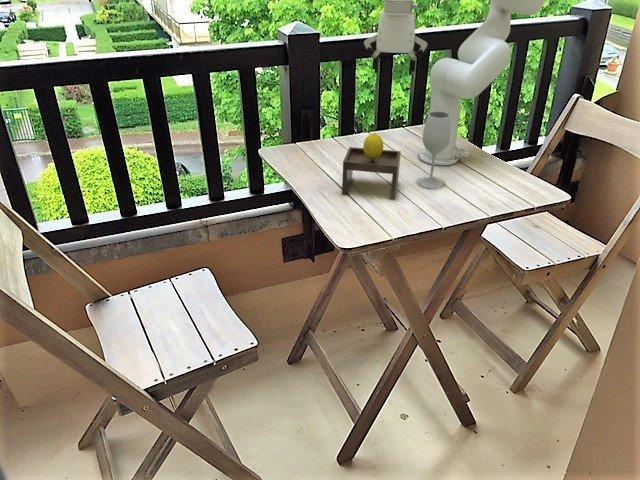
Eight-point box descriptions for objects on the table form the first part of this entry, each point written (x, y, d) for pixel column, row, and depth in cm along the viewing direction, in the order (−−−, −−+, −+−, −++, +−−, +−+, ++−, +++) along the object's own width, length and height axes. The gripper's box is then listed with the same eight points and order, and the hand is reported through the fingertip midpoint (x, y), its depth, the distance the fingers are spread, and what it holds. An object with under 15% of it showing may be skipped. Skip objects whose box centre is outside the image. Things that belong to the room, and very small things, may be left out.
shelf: (397, 183, 157) (400, 151, 152) (394, 199, 148) (397, 166, 143) (348, 178, 160) (349, 146, 155) (342, 194, 151) (343, 161, 145)
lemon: (381, 164, 147) (383, 137, 142) (361, 163, 148) (362, 135, 143) (383, 157, 151) (385, 130, 147) (364, 155, 152) (365, 129, 148)
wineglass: (444, 180, 159) (454, 112, 148) (441, 190, 153) (451, 120, 142) (420, 176, 162) (427, 109, 150) (415, 186, 155) (423, 117, 144)
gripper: (431, 6, 141) (424, 71, 151) (367, 4, 144) (364, 68, 153) (430, 10, 135) (423, 78, 144) (363, 8, 138) (361, 74, 147)
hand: (393, 73), depth 149 cm, fingers open, 9 cm apart
